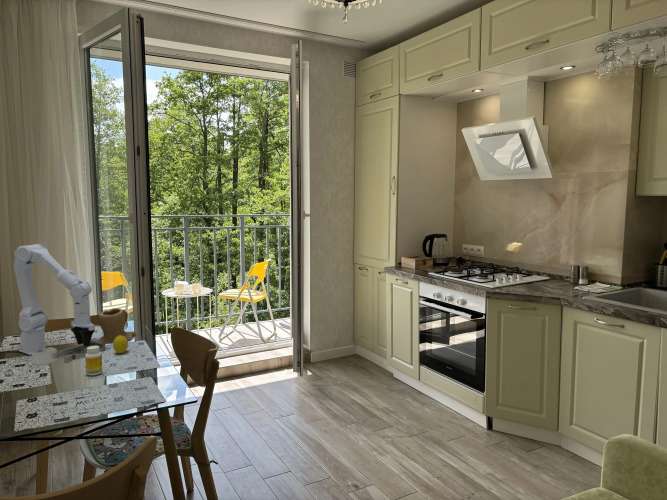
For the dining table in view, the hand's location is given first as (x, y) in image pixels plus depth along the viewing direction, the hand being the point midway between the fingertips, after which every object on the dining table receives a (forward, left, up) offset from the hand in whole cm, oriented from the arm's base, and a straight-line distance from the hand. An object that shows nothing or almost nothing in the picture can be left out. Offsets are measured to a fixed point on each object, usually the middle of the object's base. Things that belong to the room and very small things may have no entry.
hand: (83, 344), depth 196 cm
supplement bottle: (+26, -11, -4) cm, 28 cm away
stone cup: (-3, +16, -4) cm, 17 cm away
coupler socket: (0, -1, -3) cm, 3 cm away
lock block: (-1, -15, -4) cm, 15 cm away
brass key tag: (-9, +4, -3) cm, 11 cm away
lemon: (+14, +7, -4) cm, 16 cm away
